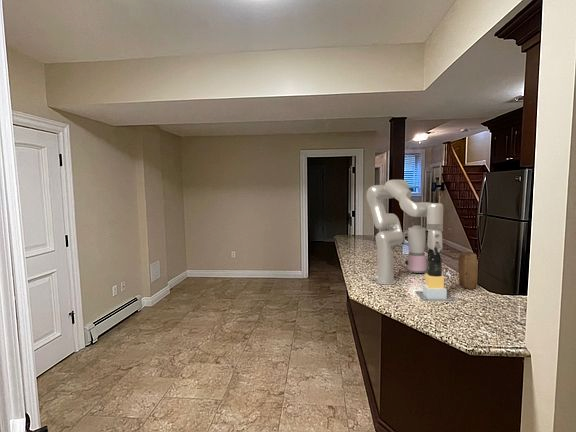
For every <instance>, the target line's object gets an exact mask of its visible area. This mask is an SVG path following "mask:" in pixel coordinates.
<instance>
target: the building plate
mask: <svg viewBox="0 0 576 432" xmlns="http://www.w3.org/2000/svg"><path fill="white" fill-rule="evenodd" d="M414 293H415V294H416V295H417V296H418V297H419V299H420V300H421V301H424V302H457V300H455V299H454V298H453V297H452V296H451V295H449V293H447V299H428V298H427V297H426V296H425V295H424V294H423V290H422V291H421V290H417V291H414Z"/></svg>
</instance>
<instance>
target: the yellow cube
mask: <svg viewBox="0 0 576 432" xmlns="http://www.w3.org/2000/svg"><path fill="white" fill-rule="evenodd" d="M424 275H425V281H424V284H425V285H426V286H427V287H428V288H439V289H444V287H445V276H443V274H442V275H441V276H429V275H428V274H427V272H426V273H425V274H424Z"/></svg>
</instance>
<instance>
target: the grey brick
mask: <svg viewBox="0 0 576 432" xmlns="http://www.w3.org/2000/svg"><path fill="white" fill-rule="evenodd" d="M447 290H448V289H447V288H445V286H444V289H439V288H428V287H427V286H426V285H425V283H423V284H422V291H423V294H424V295H425V296H426V297H427V298H428V299H447V294H448V292H447Z"/></svg>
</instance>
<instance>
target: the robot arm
mask: <svg viewBox="0 0 576 432" xmlns="http://www.w3.org/2000/svg"><path fill="white" fill-rule="evenodd" d="M409 185H410V184H409V183H408V182H407V181H406V180H404V179H390V180H387V181H386V182H385V184H375V185H371V186H369V187H368V189H367V190H366V194H365V196H366V201H367V204H368V206H369V209H370V212H371V216H372V219H373V220H372V221H373V225H374V227H375V228H376V229H377V230H381V231H378V233H376V235H375V244H376V250H377V251H376V256H377V257H376V258H377V264H376V266H377V272H376V274H374V275H373V274H371V275H369V279H372V280H374V282H375V283H376V284H380V285H387V286H389V285H395V284H396V283H397V280H396V279H395V278H394V277H395V275H394V271H395V270H394V267H395V265H394V264H395V263H394V261H395V260H394V256H395V255H394V251H393V249H392V247H393V246H399V245H402V244H403V243H402V242H403V230H402V226H401V222H400V219H399V217H398V215H396V214H395V213H391V212H390V213H387V211H386V208H385V205H384V203H383V201H381V199H382V200H385V199H395V200H397V201H398V202H399V203H398V204H399V206H400V209H401V210H402V211H403V212H404V213H406V214H407V215H408V216H410V217H412V218H420V217H422V218H423V217H426V228H427V229H426V231H428V232H427V244H426V245H427V258H428V257H429V256H430V255H429V252H430V251H434V255H433V262H434V263H440V258H441V255H442V254H441V251H443V233H442V232H443V231H444V229H443V228H444V226H443V225H444V205H443V203H441V202H440V203H439V202H429V201H428V202H426V201H425V202H424V201H423V202H422V201H419V202H415V201H412V200H411V198H412V195H413V194H412V191H411V190H410V186H409ZM435 251H436V252H435Z"/></svg>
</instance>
